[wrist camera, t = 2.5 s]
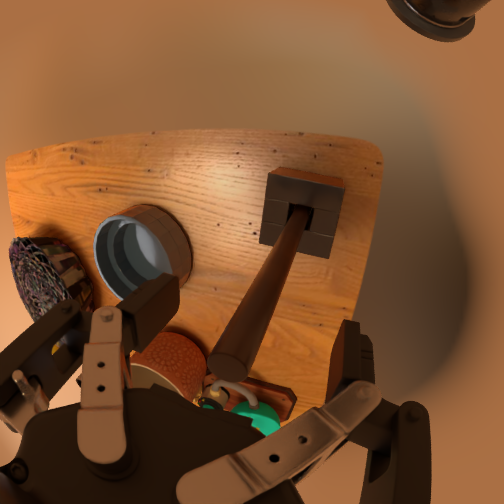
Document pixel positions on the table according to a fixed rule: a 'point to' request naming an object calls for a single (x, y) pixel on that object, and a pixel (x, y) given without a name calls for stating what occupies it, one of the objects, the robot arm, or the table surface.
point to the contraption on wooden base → (248, 400)
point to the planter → (170, 365)
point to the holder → (308, 194)
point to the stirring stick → (257, 306)
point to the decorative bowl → (48, 275)
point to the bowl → (140, 249)
